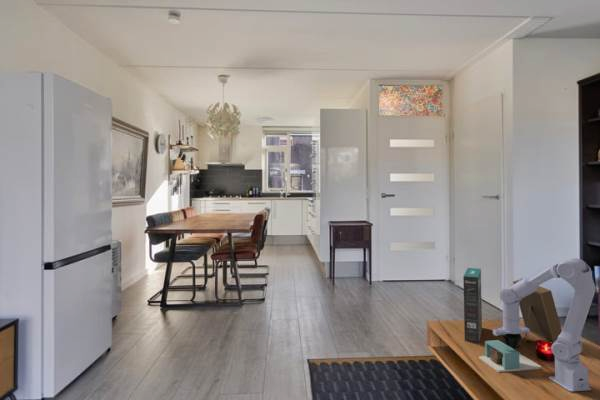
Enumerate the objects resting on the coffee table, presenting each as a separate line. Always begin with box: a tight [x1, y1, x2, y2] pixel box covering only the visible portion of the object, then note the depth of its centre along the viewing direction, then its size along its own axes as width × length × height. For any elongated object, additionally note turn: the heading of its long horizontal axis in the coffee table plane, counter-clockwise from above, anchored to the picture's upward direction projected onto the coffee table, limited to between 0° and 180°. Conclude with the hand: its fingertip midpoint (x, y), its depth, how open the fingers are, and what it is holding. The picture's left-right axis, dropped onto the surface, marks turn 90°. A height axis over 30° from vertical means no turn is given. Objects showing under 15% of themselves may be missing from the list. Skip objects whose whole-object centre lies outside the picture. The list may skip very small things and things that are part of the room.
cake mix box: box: [463, 267, 483, 344], centre depth 174 cm, size 22×6×30 cm, turn 150°
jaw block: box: [490, 347, 503, 364], centre depth 142 cm, size 4×4×5 cm
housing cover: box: [484, 339, 520, 369], centre depth 142 cm, size 12×6×6 cm, turn 6°
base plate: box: [478, 353, 543, 373], centre depth 143 cm, size 12×18×4 cm, turn 97°
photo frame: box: [512, 279, 563, 343], centre depth 168 cm, size 15×22×25 cm
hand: (511, 352), depth 143 cm, fingers closed
